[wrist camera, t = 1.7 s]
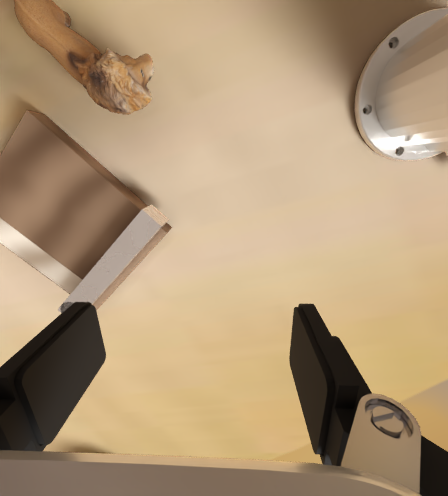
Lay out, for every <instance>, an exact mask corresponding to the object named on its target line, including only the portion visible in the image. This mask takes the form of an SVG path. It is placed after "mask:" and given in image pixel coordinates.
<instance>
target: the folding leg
mask: <svg viewBox="0 0 448 496" xmlns="http://www.w3.org/2000/svg"><path fill="white" fill-rule="evenodd" d="M168 220H169V219H168V218H167V217H166V216H164V215H163V214H162V213H161V212H160V211H159V210H158V209H157V208H156V207H154V206H153V205H150V206H148V207H146V208H144V209H142V210H141V211H140V212H139V214H138V215H137V216H136V217H135V218H134V219H133V221H132V222H131V223H130V224H129V225H128V227H127V228H126V229H125V230H124V231H123V233H122V234H121V235H120V236H119V237H118V239H117V240H116V241H115V242H114V243H113V244H112V246H111V247H110V248H109V249H108V250H107V252H106V253H105V254H104V255H103V256H102V258H101V259H100V260H99V261H98V262H97V263H96V265H95V266H94V267H93V268H92V269H91V271H90V272H89V273H88V274H87V275H86V277H85V278H84V279H83V280H82V281H81V282H80V284H79V285H78V286H77V287H76V288H75V290H74V291H73V292H72V293H71V294H70V296H69V297H68V298H67V299H66V300H65V302H64V303H63V304H62V305H61V306H60V307H59V309H58V311H60V312H61V313H63V312H64V311H65V310H66V309H67V308H69V307H70V306H71V305H72V304H73V303H75V302H90V303H91V304H92V305H93V304H94V303H95V302H96V300H97V299H98V298H99V297H100V296H101V295H102V294H103V293H104V292H105V290H106V289H107V288H108V287H109V286H110V285H111V284H112V283H113V281H114V280H115V279H116V278H117V277H118V276H119V275H120V274H121V273H122V271H123V270H124V269H125V268H126V267H127V266H128V265H129V264H130V263H131V261H132V260H133V259H134V258H135V257H136V256H137V255H138V254H139V252H140V251H141V250H142V249H143V248H144V247H145V246H146V245H147V244H148V242H149V241H150V240H151V239H152V238H153V237H154V236H155V235H156V234H157V232H158V231H159V230H160V229H161V228H162V227H163V226H164V225H165V223H166V222H167V221H168Z"/></svg>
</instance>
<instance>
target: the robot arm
mask: <svg viewBox="0 0 448 496" xmlns="http://www.w3.org/2000/svg"><path fill="white" fill-rule="evenodd" d="M389 45H390V47H389ZM363 109H365V113H363ZM355 117H356V123H357V126H358V129H359V131H360V134H361V136H362V137H363V139H364V140H365V142H366V144H367V145H368V146H369V147H370V148H371V149H372V150H373V151H375V152H376V153H378V154H380V155H381V156H383V157H386V158H389V159H392V160H399V161H417V160H422V159H427V158H430V157H433V156H435V155H438V154H441V153H442V152H445V153H446V155H447V156H448V8H439V9H432V10H429V11H426V12H423V13H421V14H418V15H416V16H414V17H412V18H411V19H409V20H407V21H406V22H404V23H403V24H401V25H400V26H399V27H397V28H396V29H395V30H394V31H392V32H391V33H390V34H389V35H388V36H387V37H386V38H385V39H384V40H383V41H382V42H381V43H380V44H379V45H378V47H377V48H376V49H375V51H374V52H373V53H372V54H371V56H370V58H369V59H368V61H367V63H366V65H365V67H364V68H363V71H362V73H361V76H360V79H359V82H358V85H357V90H356V95H355ZM395 150H396V153H395ZM105 358H106V352H105V348H104V343H103V339H102V335H101V330H100V326H99V321H98V317H97V312H96V308H95V306H94V305H92V304H91V303H90V302H75V303H73V304H72V305H71V306H70V307H69V308H67V309H66V310H65V311H64V312H63V313H62V314H61V315H59V316H58V317H57V318H56V319H55V320H54V321H53V322H51V323H50V324H49V325H48V326H47V327H46V328H45V329H43V330H42V331H41V332H40V333H39V334H38V335H37V336H35V337H34V338H33V339H32V340H31V341H30V342H29V343H27V344H26V345H25V346H24V347H23V348H22V349H21V350H19V351H18V352H17V353H16V354H15V355H14V356H13V357H11V358H10V359H9V360H8V361H7V362H6V363H5V364H3V365H2V366H1V367H0V496H448V452H447V451H445V450H444V449H442V448H440V447H439V446H437V445H436V444H434V443H433V442H431V441H429V440H428V439H426V438H425V437H423V436H421V431H420V426H419V425H418V422H417V421H416V419H415V418H414V416H413V415H412V414H411V413H410V411H409V410H407V409H406V408H405V407H404V406H403V405H401V404H400V403H399V402H397V401H395V400H393V399H392V398H389V397H387V396H384V395H380V394H372V392H371V391H370V389H369V387H368V386H367V384H366V382H365V381H364V379H363V377H362V376H361V374H360V372H359V371H358V369H357V367H356V366H355V364H354V362H353V361H352V359H351V357H350V355H349V354H348V352H347V350H346V349H345V347H344V345H343V344H342V342H341V340H340V339H339V338H338V337H337V336H331V334H330V332H329V330H328V329H327V327H326V325H325V323H324V322H323V320H322V318H321V316H320V314H319V313H318V311H317V309H316V307H315V305H314V304H299V306H298V307H295V308H294V315H293V326H292V336H291V347H290V367H291V370H292V374H293V378H294V381H295V385H296V389H297V392H298V396H299V400H300V403H301V407H302V411H303V414H304V418H305V422H306V425H307V429H308V433H309V436H310V440H311V444H312V447H313V450H314V453H315V454H320V457H321V460H322V463H323V464H315V463H303V462H302V463H301V462H286V461H271V460H254V459H231V458H208V457H185V456H160V455H133V454H106V453H77V452H44V451H43V450H44V448H45V447H46V445H48V444H50V443H51V442H52V441H53V440H54V438H55V437H56V435H57V434H58V432H59V431H60V429H61V428H62V426H63V425H64V423H65V421H66V420H67V418H68V417H69V415H70V414H71V412H72V411H73V409H74V408H75V406H76V405H77V403H78V402H79V400H80V398H81V397H82V395H83V394H84V392H85V391H86V389H87V388H88V386H89V385H90V383H91V382H92V380H93V379H94V377H95V375H96V374H97V372H98V371H99V369H100V368H101V366H102V365H103V363H104V361H105Z"/></svg>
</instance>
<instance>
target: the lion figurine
mask: <svg viewBox="0 0 448 496" xmlns="http://www.w3.org/2000/svg"><path fill="white" fill-rule="evenodd" d="M14 2H15V13H16V16H17V18H18V20H19V22H20V24H21V25H22V27H23V28H24V30H25V31H26V33H27V34H28V35H29V36H30V37H31V38H32V39H33V40H34V41H35V42H36V43H37V44H39V45H40V46H42V47H43V48H45V49H46V50H48V51H49V52H50V53H51V54H52V55H53V56H54V57H55V58H56V60H57V61H58V62H59V63H60V64H61V65H62V66H63V67H64V68H65V69H66V70H67V71H68V72H69V73H70V74H71V75H72V76H73V77H74V78H75V79H76V80H77V81H79V82H80V83H81V84H83V86H84V87H85V88H86V89H87V92H88V94H89V95H90V97H91V98H92V99H93V100H94V101H95V102H96V103H97V104H98V105H100V106H101V107H103V108H105V109H108V110H109V111H110V112H115V113H122V114H131V113H132V112H134V111H137V110H139V109H143V107H145V106H146V105H147V104H148V103H149V102H150V101H151V100H152V96H151V92H150V91H149V89H148V88H147V86H146V85H147V83H148V81H149V80H150V79H151V77H152V75H153V73H154V67H153V64H152V63H153V61H152V59H151V56H150V55H149V54H144V55H142V56H139V57H138V58H137V59H133V58H131V57H130V56H128V55H126V56H120V55H118V54H117V53H114V52H112V51H111V50H110V49H109V48H106V53H105V54H101V53H100V52H99V51H98V50H97V49H96V48H95V47H94V46H93V45H92V44H91V43H90V42H89V41H87V40H86V39H85V38H83V37H82V36H80V35H79V34H77V33H76V32H74V31H73V30H71V29H70V28H68V26H70V25H71V19H70V16H69V15H68V14H67V13H66V12H64V11H62V10H61V9H60V8H59V7H58V6H57V5H56V4H55V3H54V2H53V1H51V0H14Z"/></svg>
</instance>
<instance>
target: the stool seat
mask: <svg viewBox="0 0 448 496" xmlns="http://www.w3.org/2000/svg"><path fill="white" fill-rule="evenodd" d="M146 207H148V206H147V205H146V204H145V203H144V202H143V201H142V200H140V199H139V198H138V197H137V196H136V195H135V194H134V193H133V192H131V191H130V190H129V189H128V188H127V187H126V186H125V185H124V184H122V183H121V182H120V181H119V180H118V179H117V178H116V177H114V176H113V175H112V174H111V173H110V172H109V171H108V170H107V169H105V168H104V167H103V166H102V165H101V164H100V163H99V162H98V161H96V160H95V159H94V158H93V157H92V156H91V155H90V154H89V153H87V152H86V151H85V150H84V149H83V148H82V147H81V146H80V145H78V144H77V143H76V142H75V141H74V140H73V139H72V138H70V137H69V136H68V135H67V134H66V133H65V132H64V131H63V130H61V129H60V128H59V127H58V126H57V125H56V124H55V123H54V122H52V121H51V120H50V119H49V118H48V117H47V116H46V115H44V114H41V113H37V112H33V111H29V110H26V112H25V114H24V115H23V117H22V119H21V121H20V122H19V124H18V126H17V128H16V129H15V131H14V133H13V134H12V136H11V138H10V140H9V141H8V143H7V145H6V147H5V148H4V150H3V152H2V154H1V155H0V243H1V244H2V245H3V246H5V247H6V248H8V249H9V250H10V251H12V252H13V253H14V254H16V255H17V256H18V257H20V258H21V259H23V260H24V261H25V262H27V263H28V264H29V265H31V266H32V267H33V268H35V269H36V270H38V271H39V272H40V273H42V274H43V275H44V276H46V277H47V278H49V279H50V280H51V281H53V282H54V283H55V284H57V285H58V286H59V287H61V288H62V289H64V290H65V291H66V292H68V293H69V294H71V293H72V292H73V291H74V290H75V288H76V287H77V286H78V285H79V284H80V282H81V281H82V280H83V279H84V278H85V277H86V275H87V274H88V273H89V272H90V271H91V269H92V268H93V267H94V266H95V265H96V263H97V262H98V261H99V260H100V259H101V258H102V256H103V255H104V254H105V253H106V252H107V250H108V249H109V248H110V247H111V246H112V244H113V243H114V242H115V241H116V240H117V239H118V237H119V236H120V235H121V234H122V233H123V231H124V230H125V229H126V228H127V227H128V225H129V224H130V223H131V222H132V221H133V219H134V218H135V217H136V216H137V215H138V214H139V212H140V211H141V210H142V209H144V208H146ZM171 228H172V227H171V226H170V225H169V224H167V223H165V225H164V226H163V227H162V228H161V229H160V230H159V231H158V232H157V234H156V235H155V236H154V237H153V238H152V239H151V240H150V241H149V242H148V244H147V245H146V246H145V247H144V248H143V249H142V250H141V251H140V252H139V254H138V255H137V256H136V257H135V258H134V259H133V260H132V261H131V263H130V264H129V265H128V266H127V267H126V268H125V269H124V270H123V271H122V273H121V274H120V275H119V276H118V277H117V278H116V279H115V280H114V281H113V283H112V284H111V285H110V286H109V287H108V288H107V289H106V290H105V292H104V293H103V294H102V295H101V296H100V297H99V298H98V299H97V300H96V302H95V303H94V304H93V305H94V306H95V308H96V310H97V309H98V308H99V307H100V306H101V305H102V304H103V303H104V302H105V300H106V299H107V298H108V297H109V296H110V295H111V294H112V293H113V292H114V291H115V290H116V288H117V287H118V286H119V285H120V284H121V283H122V282H123V281H124V280H125V279H126V277H127V276H128V275H129V274H130V273H131V272H132V271H133V270H134V269H135V268H136V266H137V265H138V264H139V263H140V262H141V261H142V260H143V259H144V258H145V257H146V256H147V254H148V253H149V252H150V251H151V250H152V249H153V248H154V247H155V246H156V245H157V243H158V242H159V241H160V240H161V239H162V238H163V237H164V236H165V235H166V234H167V233H168V231H169V230H170V229H171Z"/></svg>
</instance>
